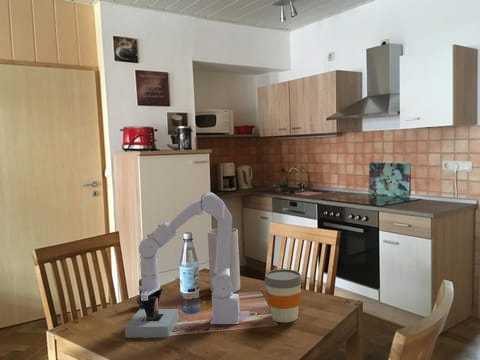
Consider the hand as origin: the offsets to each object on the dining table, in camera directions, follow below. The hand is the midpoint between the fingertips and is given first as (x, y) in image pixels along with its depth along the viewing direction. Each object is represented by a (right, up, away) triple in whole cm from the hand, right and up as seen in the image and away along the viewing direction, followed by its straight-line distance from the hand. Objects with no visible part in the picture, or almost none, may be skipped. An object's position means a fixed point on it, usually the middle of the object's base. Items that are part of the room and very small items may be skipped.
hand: (152, 313), depth 138 cm
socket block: (0, -5, 0) cm, 5 cm away
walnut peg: (0, -2, 0) cm, 2 cm away
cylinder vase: (+23, -1, +34) cm, 41 cm away
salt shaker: (-7, -4, +19) cm, 21 cm away
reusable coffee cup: (+45, -3, +4) cm, 45 cm away
